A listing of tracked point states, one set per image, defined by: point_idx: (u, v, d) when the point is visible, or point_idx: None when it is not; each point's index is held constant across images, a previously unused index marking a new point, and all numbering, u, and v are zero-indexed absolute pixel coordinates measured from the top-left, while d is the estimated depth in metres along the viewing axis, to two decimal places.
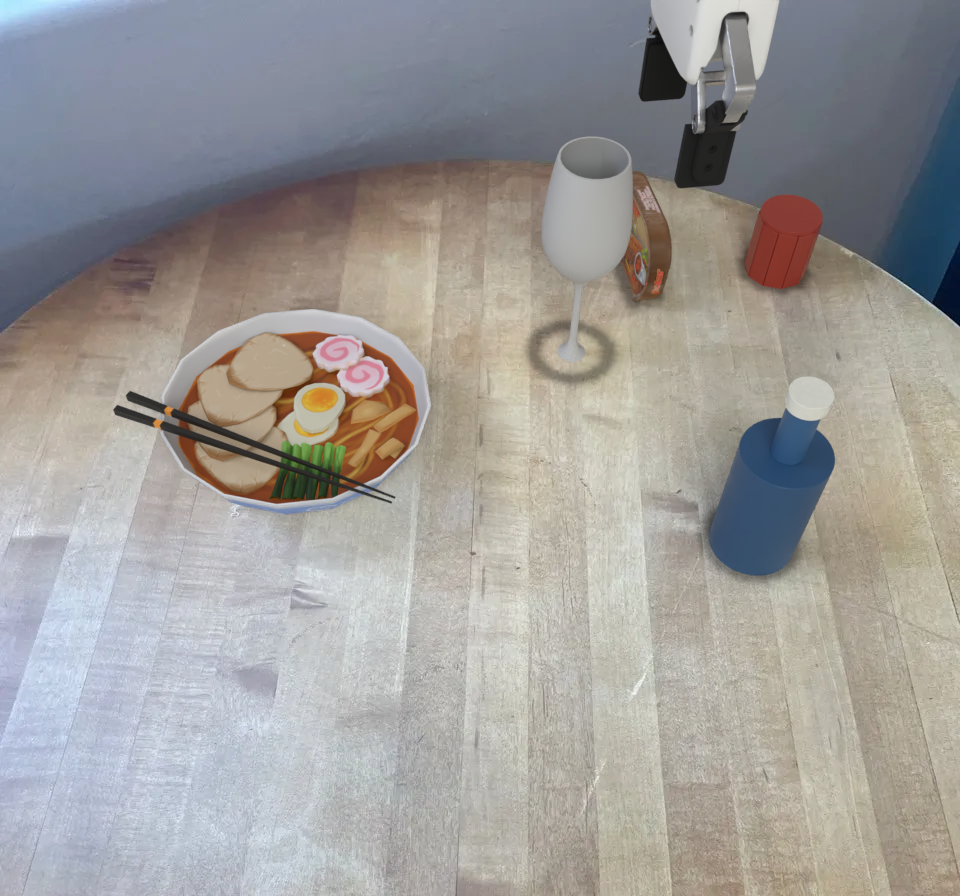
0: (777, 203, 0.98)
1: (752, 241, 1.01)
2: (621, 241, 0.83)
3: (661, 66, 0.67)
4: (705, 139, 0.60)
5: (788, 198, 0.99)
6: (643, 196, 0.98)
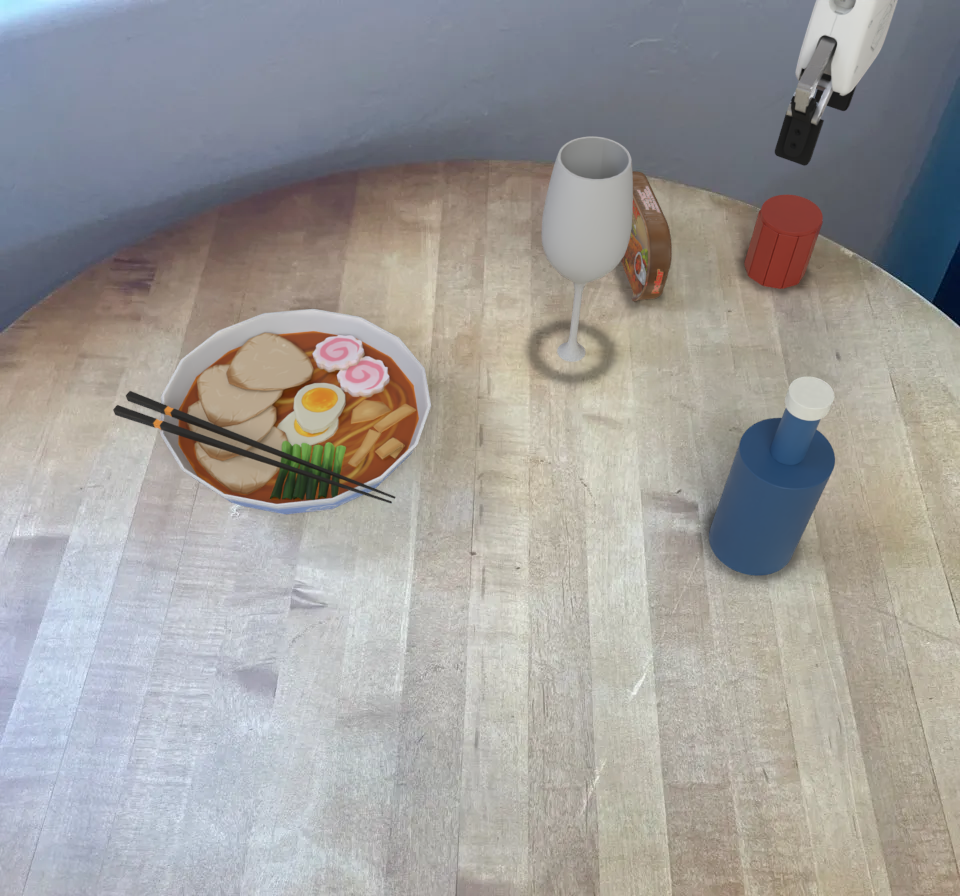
0: (777, 203, 0.98)
1: (752, 241, 1.01)
2: (621, 241, 0.83)
3: None
4: (793, 122, 0.84)
5: (788, 198, 0.99)
6: (643, 196, 0.98)
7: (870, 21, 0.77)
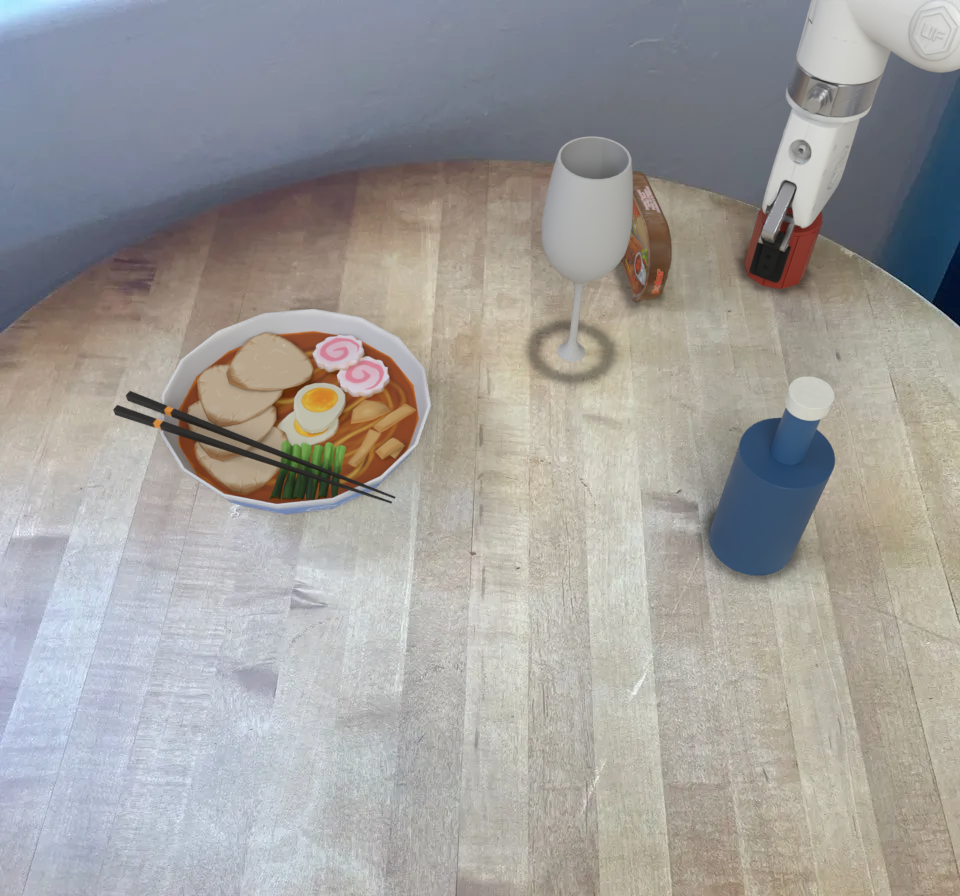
0: None
1: (752, 241, 1.01)
2: (621, 241, 0.83)
3: None
4: (764, 248, 0.97)
5: None
6: (643, 196, 0.98)
7: (824, 170, 0.88)
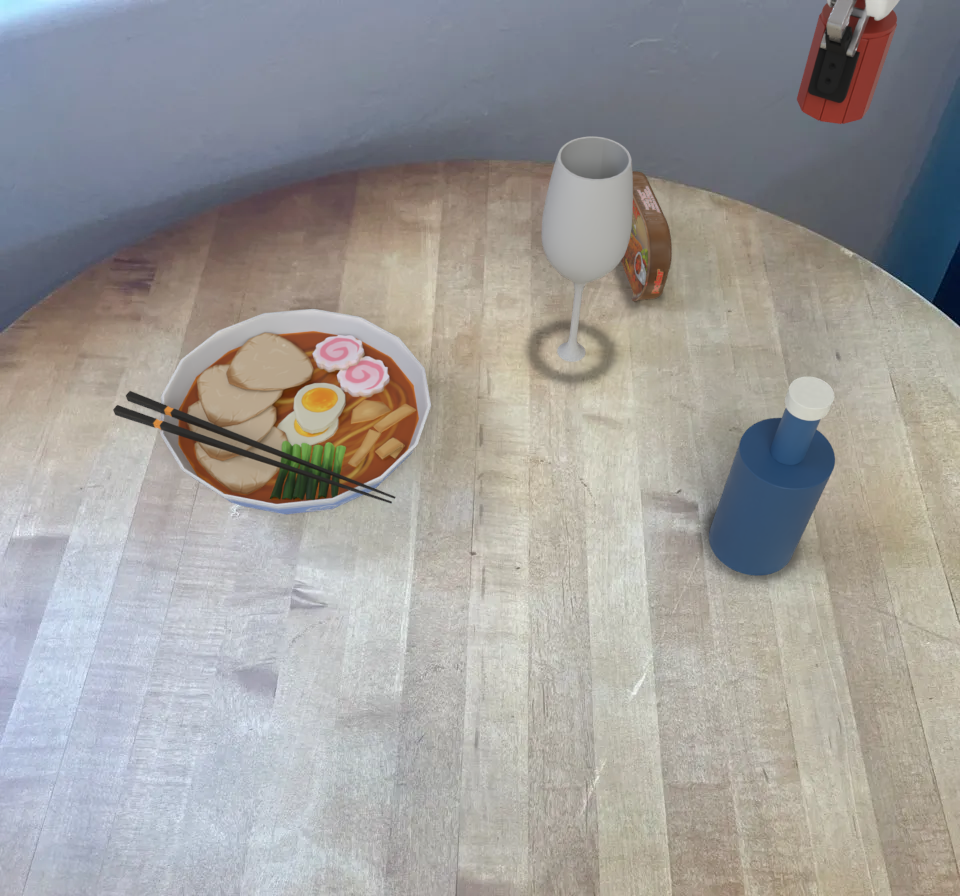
0: None
1: (810, 55, 0.84)
2: (621, 241, 0.83)
3: None
4: (828, 55, 0.81)
5: None
6: (643, 196, 0.98)
7: None
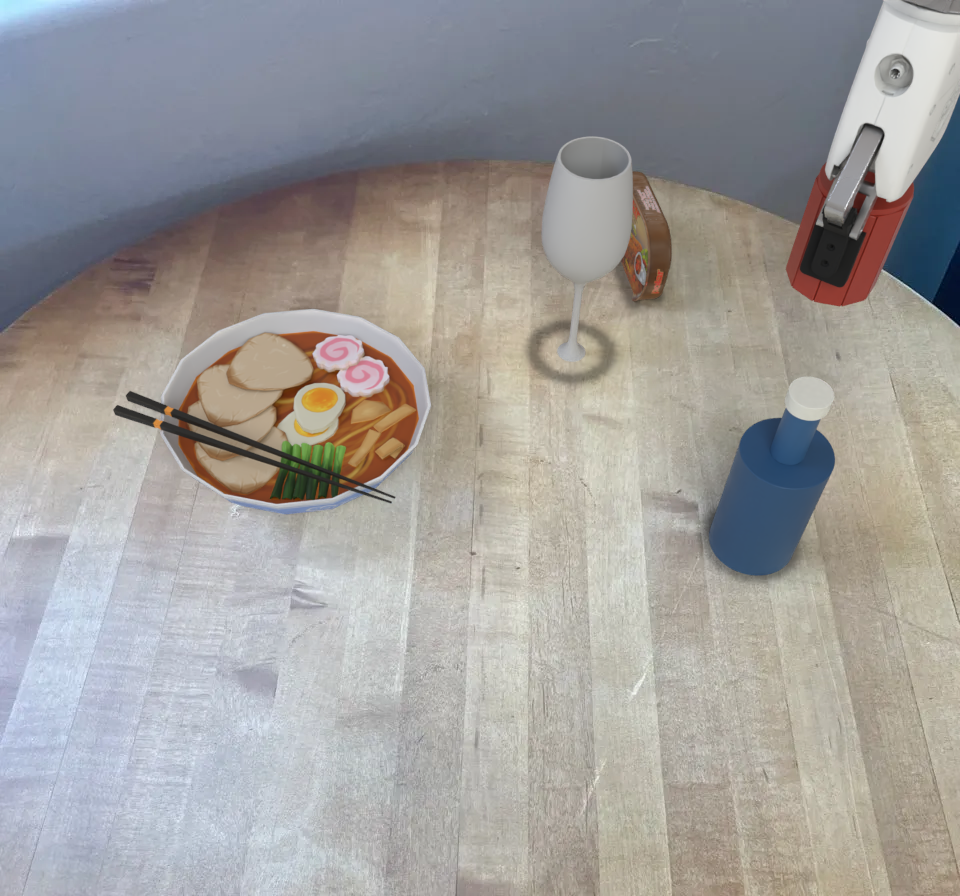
0: None
1: (803, 223, 0.67)
2: (621, 241, 0.83)
3: None
4: (825, 235, 0.63)
5: None
6: (643, 196, 0.98)
7: (932, 106, 0.55)
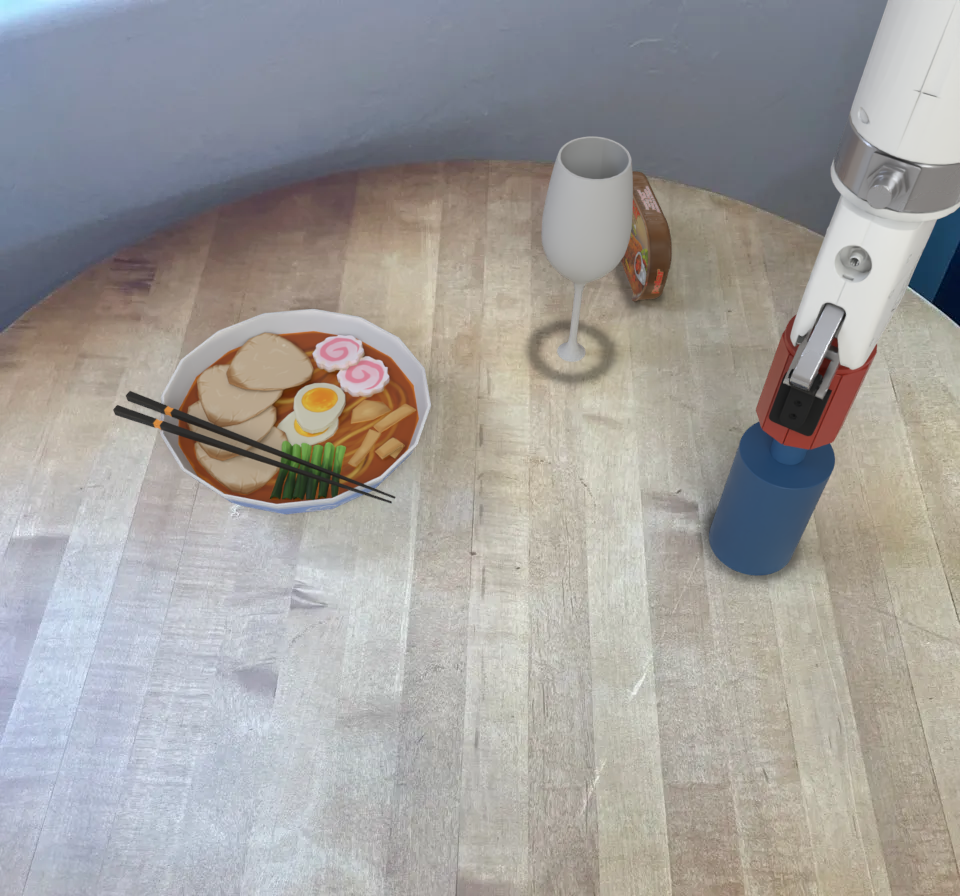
0: None
1: (771, 373, 0.69)
2: (621, 241, 0.83)
3: None
4: (792, 392, 0.65)
5: None
6: (643, 196, 0.98)
7: (891, 291, 0.57)
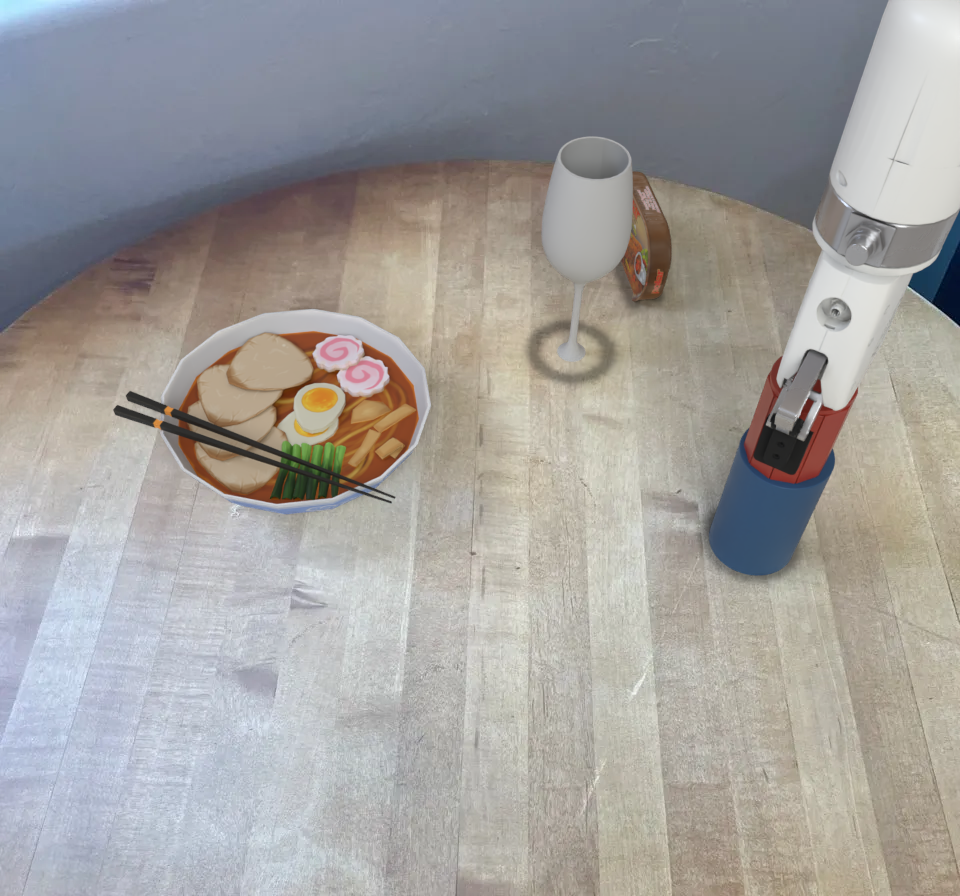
0: None
1: (758, 412, 0.72)
2: (621, 241, 0.83)
3: None
4: (775, 434, 0.67)
5: None
6: (643, 196, 0.98)
7: (870, 339, 0.60)
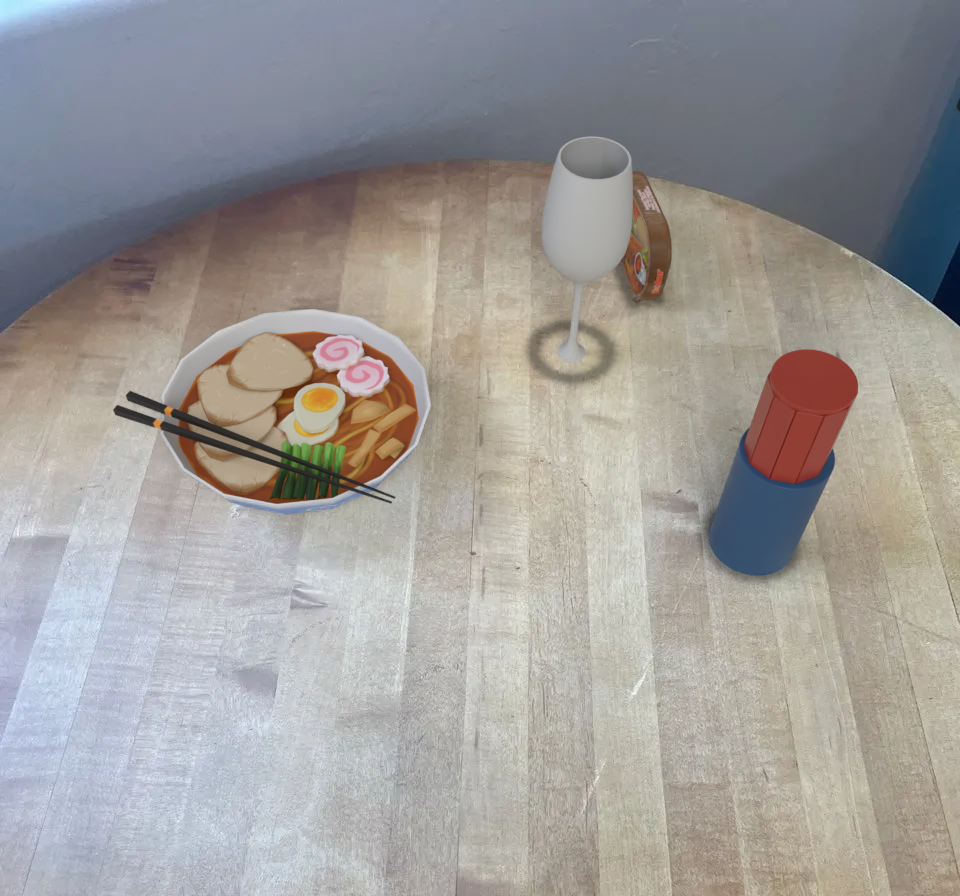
0: (793, 363, 0.70)
1: (758, 412, 0.72)
2: (621, 241, 0.83)
3: None
4: None
5: (809, 355, 0.70)
6: (643, 196, 0.98)
7: None
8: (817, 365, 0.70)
